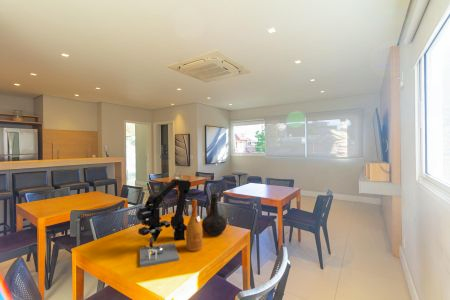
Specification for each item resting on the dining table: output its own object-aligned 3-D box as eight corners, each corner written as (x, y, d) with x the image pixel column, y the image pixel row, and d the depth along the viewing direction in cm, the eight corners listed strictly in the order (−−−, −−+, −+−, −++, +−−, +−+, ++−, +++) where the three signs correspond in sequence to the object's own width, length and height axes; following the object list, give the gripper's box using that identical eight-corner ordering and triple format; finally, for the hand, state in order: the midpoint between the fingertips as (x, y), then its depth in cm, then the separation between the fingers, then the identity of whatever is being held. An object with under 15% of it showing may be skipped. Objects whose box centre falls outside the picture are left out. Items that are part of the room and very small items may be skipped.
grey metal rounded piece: (154, 246, 135) (153, 236, 135) (165, 252, 128) (164, 241, 128) (140, 251, 129) (140, 240, 128) (150, 257, 121) (150, 246, 121)
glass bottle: (211, 240, 148) (211, 198, 148) (197, 232, 162) (197, 193, 162) (231, 233, 159) (231, 194, 159) (216, 226, 173) (216, 190, 173)
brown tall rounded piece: (189, 253, 130) (189, 202, 129) (184, 246, 138) (183, 198, 138) (204, 250, 134) (204, 200, 134) (199, 243, 143) (198, 196, 142)
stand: (173, 245, 141) (173, 234, 141) (179, 260, 122) (179, 247, 122) (139, 250, 133) (139, 238, 133) (140, 267, 115) (140, 253, 115)
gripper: (160, 209, 147) (160, 233, 148) (133, 217, 133) (133, 243, 133) (170, 213, 140) (170, 237, 141) (143, 221, 126) (143, 248, 126)
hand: (154, 241), depth 135 cm, fingers closed
